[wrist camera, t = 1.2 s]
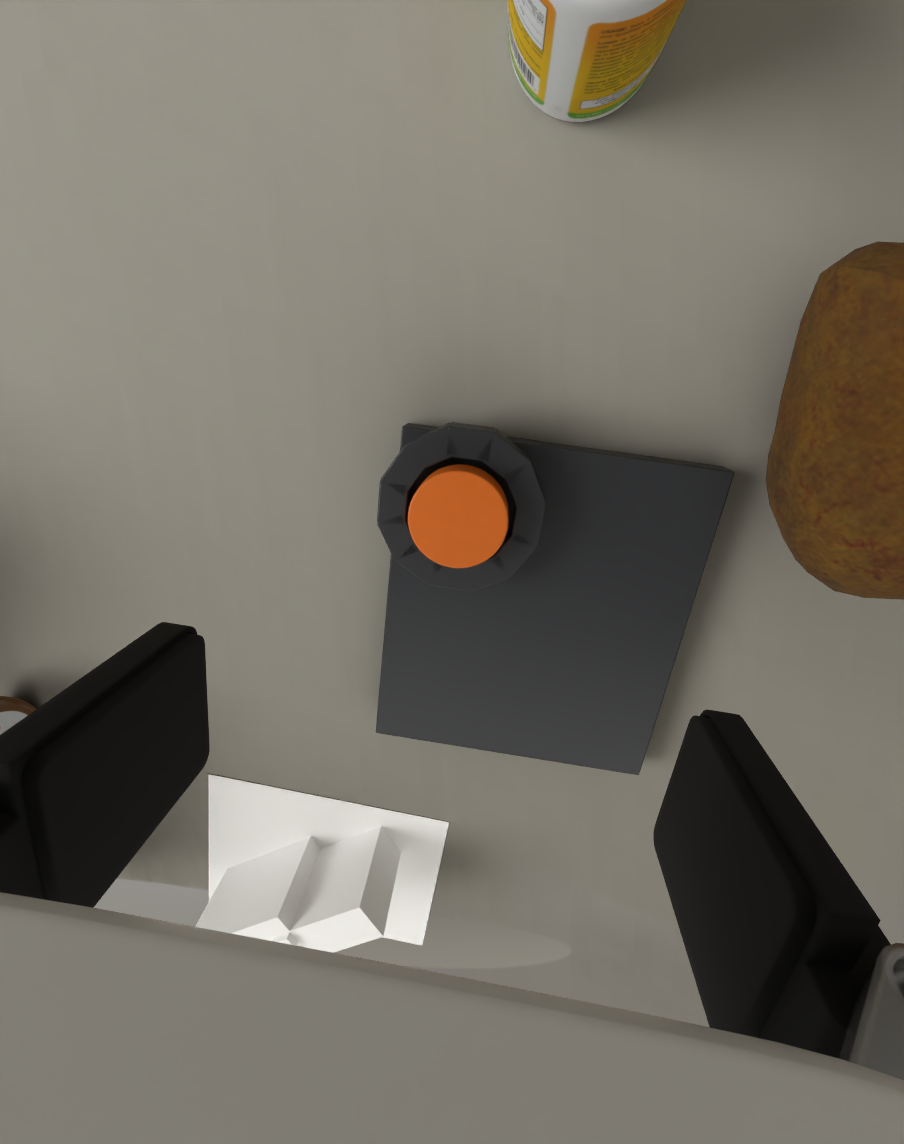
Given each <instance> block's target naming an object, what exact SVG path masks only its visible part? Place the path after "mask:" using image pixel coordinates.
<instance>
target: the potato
mask: <svg viewBox="0 0 904 1144" xmlns="http://www.w3.org/2000/svg"><path fill="white" fill-rule="evenodd" d="M766 484H767V490H768V497H769V503H770V507H771V509H772V511H773V514H774V516H775V519H776V521H777V523H778V526H779V528H780V531H781V534H782V536H783V539H784V540H785V542H786V544H787V545H788V547H789V549H790V551H791V552H792V554H793V556H794V557H795V559H796V560H797V561H798V563H799V564H800V565H801V566H802V567H803V568H804V569H805V570H806V571H807V572H808V573H809V574H811V575H812V576H814V577H815V578H817V579H818V580H819V581H821V582H822V583H824V584H825V585H827V586H828V587H829V588H831V589H832V590H834V591H837V592H842V593H846V594H851V595H855V596H860V597H864V598H885V599H904V243H894V242H875V243H872V244H870V245H867V246H864V247H861V248H858V249H855V250H854V251H852V252H851V253H849V254H848V255H846V256H845V257H844V258H842V259H841V260H839V261H838V262H836V263H835V264H833V265H832V266H831V267H829V268H828V269H826V270H825V271H823V272H822V273H821V274H820V276H819V278H818V280H817V283H816V285H815V287H814V290H813V292H812V295H811V297H810V300H809V302H808V305H807V307H806V310H805V312H804V315H803V317H802V320H801V323H800V327H799V330H798V334H797V338H796V342H795V346H794V350H793V354H792V358H791V362H790V365H789V369H788V373H787V377H786V381H785V384H784V388H783V392H782V396H781V401H780V407H779V412H778V418H777V423H776V429H775V433H774V436H773V440H772V444H771V448H770V452H769V456H768V465H767V476H766Z"/></svg>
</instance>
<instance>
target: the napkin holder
mask: <svg viewBox="0 0 904 1144" xmlns="http://www.w3.org/2000/svg"><path fill="white" fill-rule="evenodd" d="M448 825H449V822H445V821H440V820H435V819H430V818H425V817H420V816H415V815H410V814H405V813H400V812H395V811H390V810H385V809H380V808H375V807H370V806H365V805H360V804H355V803H350V802H345V801H340V800H335V799H330V798H325V797H320V796H315V795H310V794H305V793H300V792H295V791H290V790H285V789H280V788H275V787H270V786H265V785H260V784H255V783H250V782H245V781H240V780H235V779H230V778H225V777H220V776H215V775H210V774H209V903H208V904H207V906H206V908H205V910H204V912H203V914H202V915H201V917H200V919H199V921H198V923H197V925H196V926H195V927H199V928H205V929H210V930H216V931H221V932H226V933H232V934H237V935H242V936H248V937H253V938H259V939H264V940H269V941H274V942H280V943H285V944H290V945H295V946H303V947H306V948H311V949H316V950H322V951H327V952H332V953H333V952H336V951H340V950H343V949H346V948H349V947H352V946H355V945H358V944H361V943H364V942H368V941H371V940H374V939H377V938H380V937H384V938H389V939H394V940H398V941H403V942H408V943H413V944H418V945H423V940H424V935H425V930H426V926H427V922H428V917H429V912H430V908H431V903H432V899H433V894H434V889H435V885H436V880H437V876H438V871H439V866H440V862H441V857H442V853H443V848H444V843H445V839H446V834H447V830H448Z"/></svg>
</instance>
